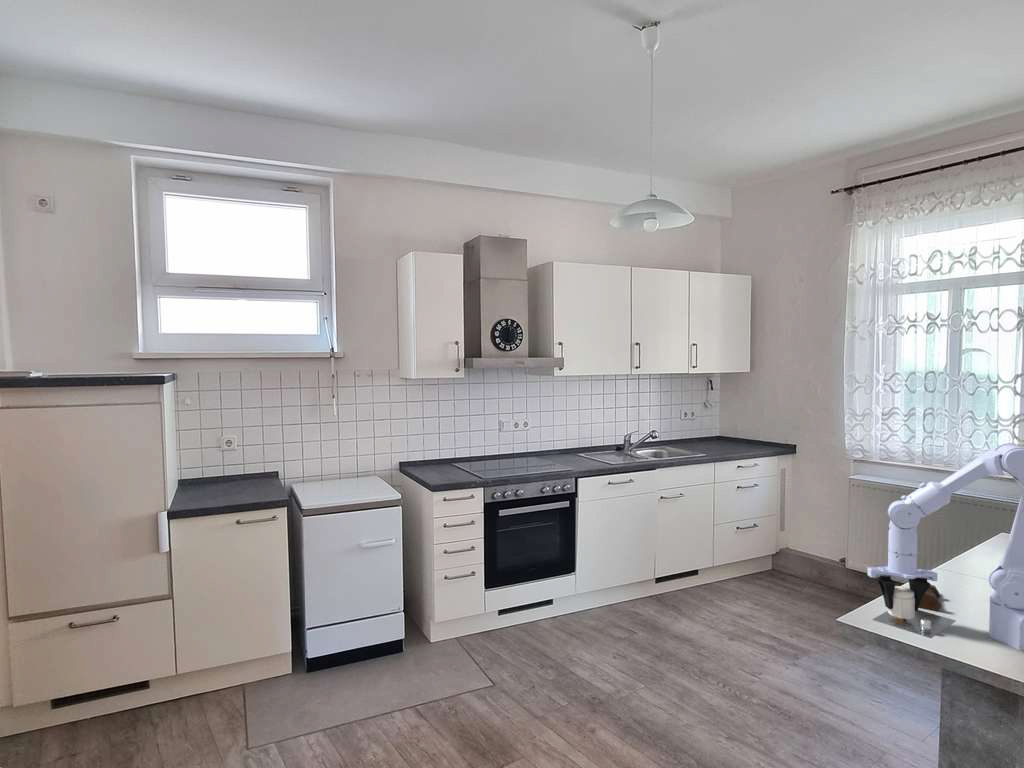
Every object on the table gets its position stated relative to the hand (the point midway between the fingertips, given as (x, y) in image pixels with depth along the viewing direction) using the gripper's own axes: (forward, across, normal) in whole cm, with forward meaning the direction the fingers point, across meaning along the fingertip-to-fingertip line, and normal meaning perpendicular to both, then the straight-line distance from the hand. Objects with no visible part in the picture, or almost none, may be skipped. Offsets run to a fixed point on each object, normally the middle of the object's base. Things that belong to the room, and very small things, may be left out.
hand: (901, 608), depth 139 cm
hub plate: (+4, +3, 0) cm, 5 cm away
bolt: (+4, +13, +14) cm, 20 cm away
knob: (+2, 0, 0) cm, 2 cm away
